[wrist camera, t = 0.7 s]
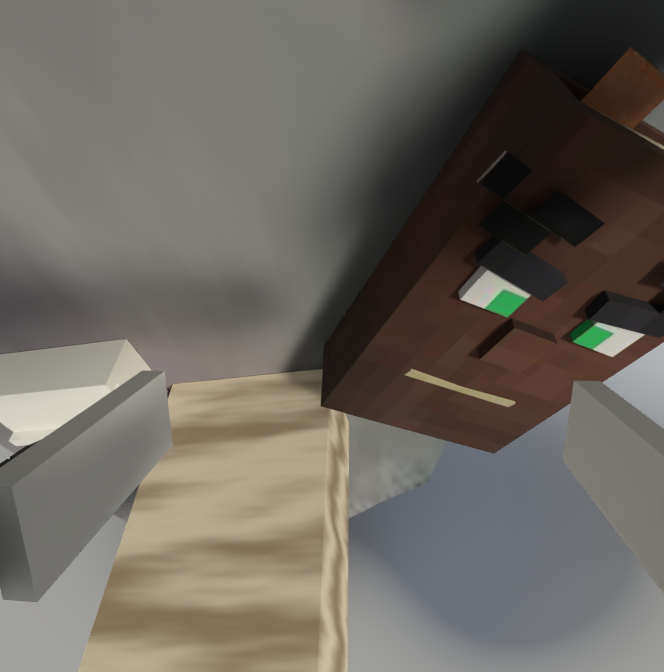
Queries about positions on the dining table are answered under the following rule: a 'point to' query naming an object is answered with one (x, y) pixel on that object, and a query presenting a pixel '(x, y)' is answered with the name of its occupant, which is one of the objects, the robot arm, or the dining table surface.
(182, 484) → the pedestal
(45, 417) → the dock
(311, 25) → the dining table surface
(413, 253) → the decorative book
